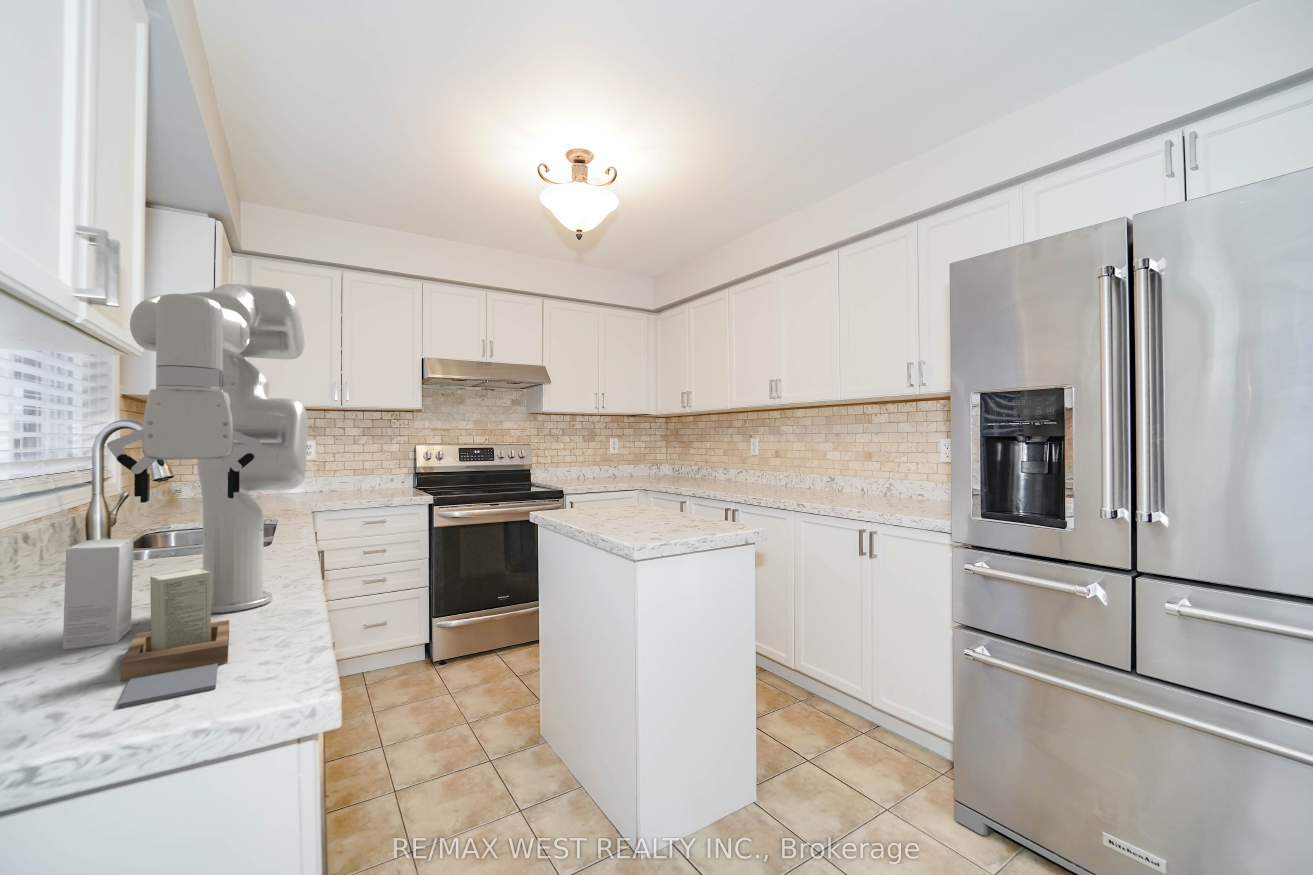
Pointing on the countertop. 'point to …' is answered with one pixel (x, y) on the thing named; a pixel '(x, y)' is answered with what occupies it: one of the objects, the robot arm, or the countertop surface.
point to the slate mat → (169, 685)
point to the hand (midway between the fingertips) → (189, 499)
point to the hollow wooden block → (174, 654)
